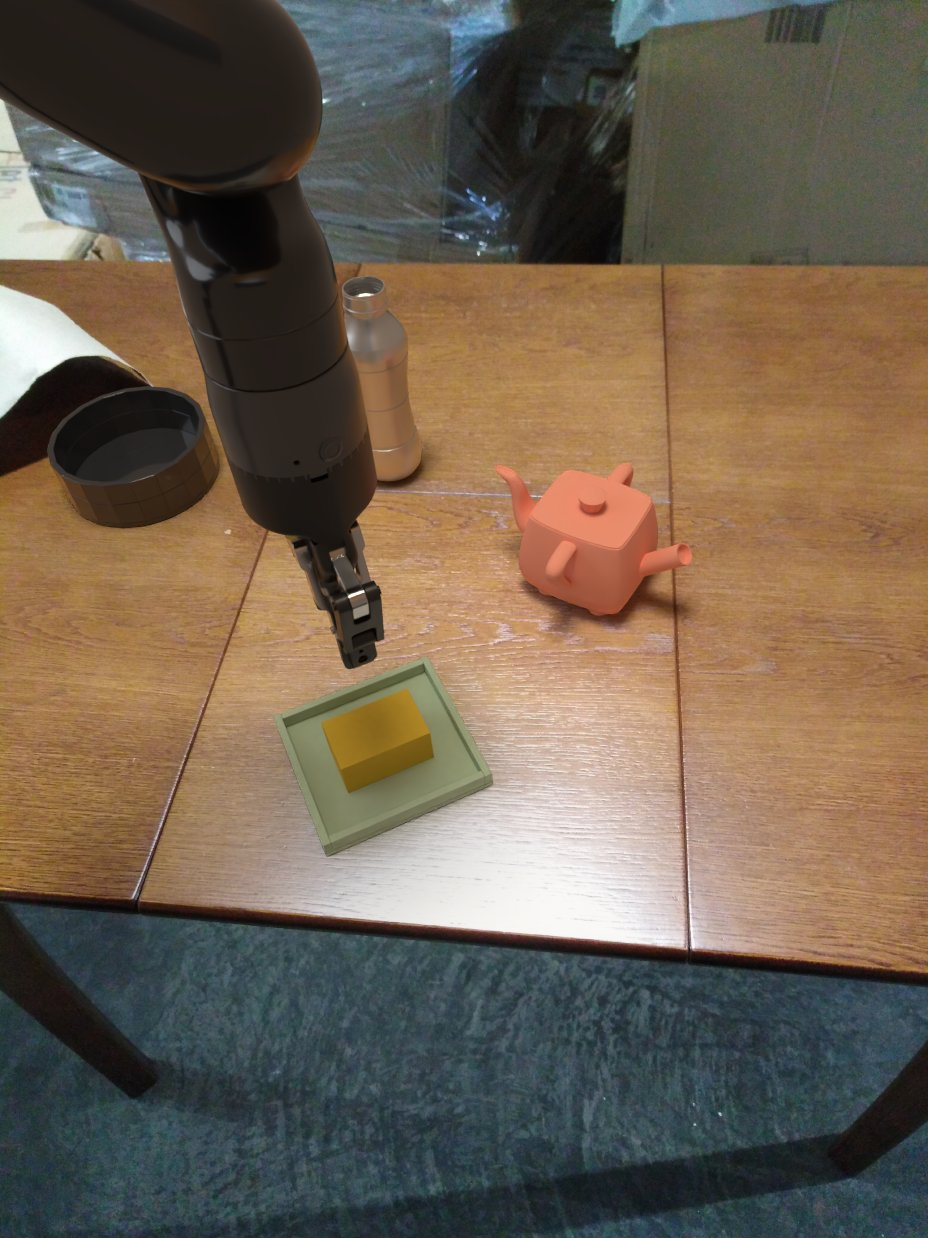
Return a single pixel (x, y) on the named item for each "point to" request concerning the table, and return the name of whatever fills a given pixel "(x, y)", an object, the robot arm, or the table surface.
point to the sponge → (378, 740)
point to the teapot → (590, 538)
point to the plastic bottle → (382, 376)
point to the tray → (396, 795)
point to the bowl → (134, 456)
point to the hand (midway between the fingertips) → (345, 630)
